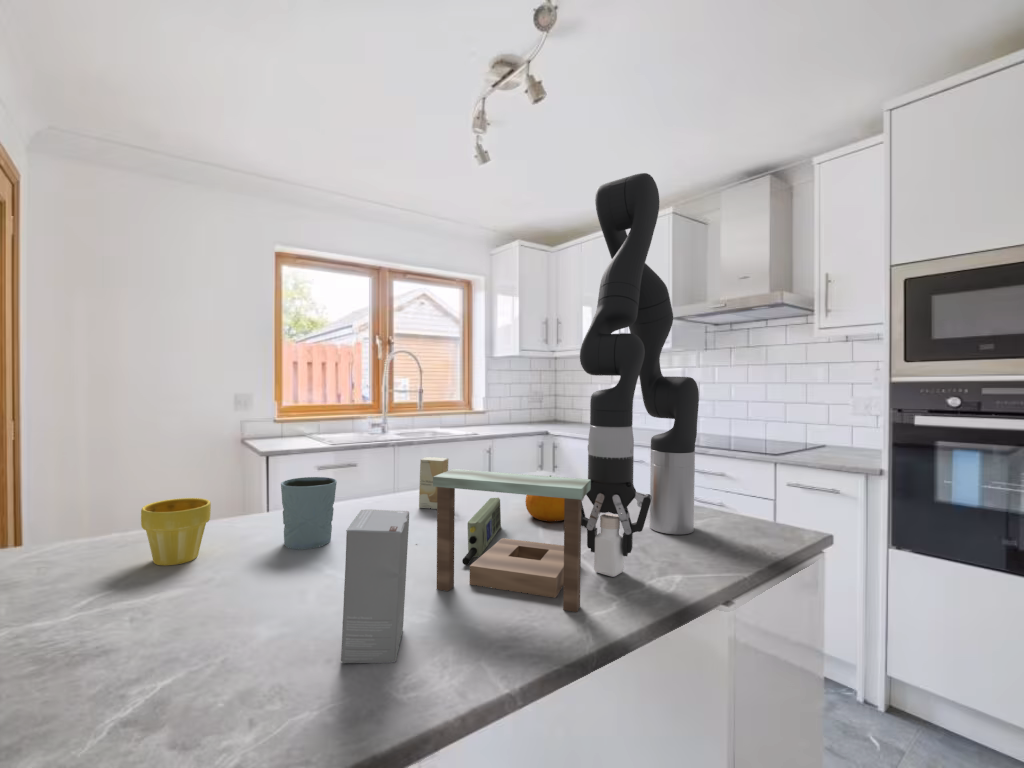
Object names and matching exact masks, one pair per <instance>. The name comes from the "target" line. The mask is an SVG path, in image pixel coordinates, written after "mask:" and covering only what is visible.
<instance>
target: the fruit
mask: <svg viewBox="0 0 1024 768" xmlns="http://www.w3.org/2000/svg"><path fill="white" fill-rule="evenodd" d="M564 503H565V498H557V497H546V496H535V495H526V496H525V507H526V510H527V512H528V514H529V515H530V516H531V517H533V518H534V519H536V520H538V521H539V520H540V521H541V522H542V521H543V522H561V521H564Z"/></svg>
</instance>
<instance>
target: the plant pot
mask: <svg viewBox="0 0 1024 768" xmlns="http://www.w3.org/2000/svg"><path fill="white" fill-rule="evenodd" d="M211 504H212V503H211V501H210V500H209V499H207V498H200V497H182V498H172V499H164V500H159V501H155V502H151V503H148V504H145V505H144V506H143V507H141V510H140V525H141V528H142V530H144V531H145V532H146V536H147V541H148V545H149V548H150V552H151V557H152V558H151V559H152V561H153V562H152V563H153V564H155V565H156V566H177V565H181V564H186V563H189V562H192V561H193V560H195V559H197V557H198V556H199V552H200V548H201V545H202V539H203V536H204V533H205V528H206V525H207V523H208V522H210V520H211V512H212V511H211V510H212V509H211V507H212V505H211Z"/></svg>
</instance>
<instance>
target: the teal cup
mask: <svg viewBox="0 0 1024 768" xmlns="http://www.w3.org/2000/svg"><path fill="white" fill-rule="evenodd" d="M336 489H337V479H335V478H332V477H326V476H321V477H320V476H311V477H310V476H307V477H297V478H291V479H286V480H283V481H282V482H280V491H281V492H280V493H281V504H282V509H283V510H282V521H283V523H282V524H283V525H284V527H283V542H284V543H283V544H284V546H285V547H286V548H287V549H291V550H309V548H311V549H316V548H315V547H317V548H320V547H323V546H326V545H327V543H328V544H329V543H330V542H331V540H332V531H333V527H332V526H333V525H332V522H333V519H334V511H335V509H334V505H335V499H336V492H337V490H336ZM325 544H326V545H325ZM322 545H323V546H322ZM319 546H320V547H319Z"/></svg>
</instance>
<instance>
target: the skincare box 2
mask: <svg viewBox="0 0 1024 768" xmlns="http://www.w3.org/2000/svg"><path fill="white" fill-rule="evenodd" d="M419 467H420V468H419V469H420V470H419V491H418V493H419V494H418V495H419V496H418V508H419V509H430V508H431V509H432V510H437V487H434V486H433V476H436V475H439V474H441V473H444V472H447V471H449V458H448V457H447V458H446V457H433V456H426V457H423V458H421V459H420V465H419Z"/></svg>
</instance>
